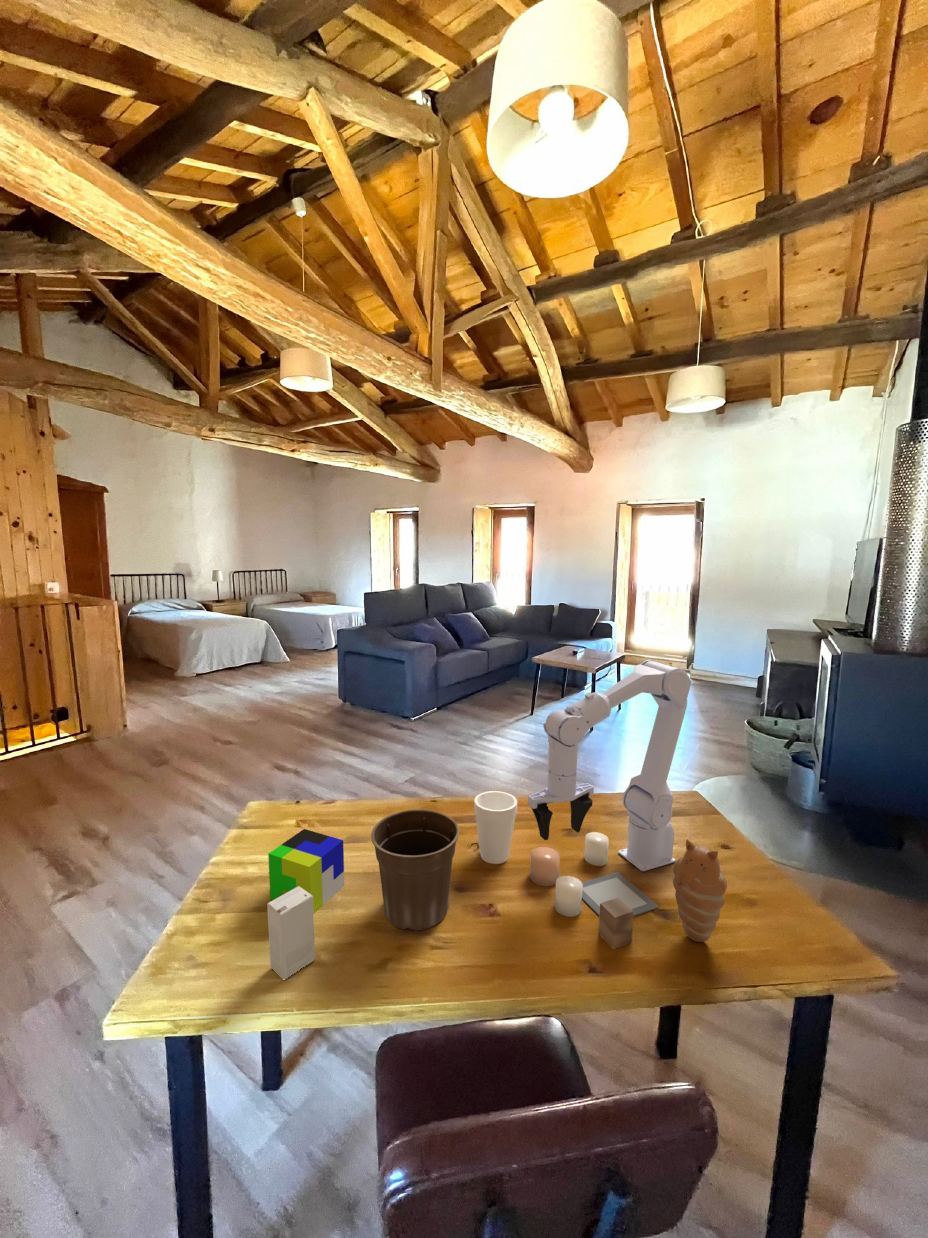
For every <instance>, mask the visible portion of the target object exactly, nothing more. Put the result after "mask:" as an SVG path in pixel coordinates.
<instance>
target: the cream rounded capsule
mask: <svg viewBox="0 0 928 1238" xmlns="http://www.w3.org/2000/svg"><path fill="white" fill-rule="evenodd" d="M582 882H583V881H581V880H580V879H579V878H577V877H575V876H571V875H563V876H559V878H558V879H557V880H556V884H555V893H554V894H555V895H554V896H555V897H554V908H555V911H556V912H557V913H559V914H560V915H562V916H564V917H569V918H572V917H577V916H579V915H580V914H581V912H582V904H583V899H582V889H583V885H582Z"/></svg>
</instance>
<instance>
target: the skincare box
mask: <svg viewBox="0 0 928 1238" xmlns="http://www.w3.org/2000/svg"><path fill="white" fill-rule="evenodd" d="M266 906H267V909H266V910H267V925H268V946H269V962H270V963H269V964H270V969H271V970H272V969H273V970H274V971H275V972H276V973H277V974H278V975H279V976H280V977H281V978H282V979H286V978H287V979H289V978H290V977H292V976H293V975H295V974H296V973H298V972H299V971H300V969H301V968H302V969H304V968H305V967H306V965H307V966H308V965H309V964H311V963H312V962H313V961H315V960H316V950H315V948H316V947H315V944H316V943H315V920H314V919H315V917H314V915H315V914H313V896H312V895H311V894H309V893H308V892H307V891H305V890H304V889H302V888H301V887H299V886H298V887H296V888H295V889H293V890H291V891H289V892H287V893H285V894H284V895H282V896H280V897H278V898H276V899H275V900H273V901H269V902H267V904H266ZM303 967H304V968H303ZM302 969H301V970H302ZM273 970H272V971H273ZM274 971H273V972H274ZM297 971H298V972H297ZM275 972H274V973H275ZM276 973H275V974H276ZM294 973H295V974H294ZM277 974H276V975H277ZM292 974H293V975H292ZM278 975H277V976H278ZM291 975H292V976H291ZM279 976H278V977H279ZM289 976H290V977H289ZM280 977H279V978H280ZM288 977H289V978H288ZM281 978H280V979H281ZM282 979H281V980H282ZM287 979H286V980H287Z"/></svg>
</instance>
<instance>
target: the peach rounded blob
mask: <svg viewBox="0 0 928 1238" xmlns="http://www.w3.org/2000/svg"><path fill="white" fill-rule="evenodd" d="M560 859H561V857H560V853H559V852H558V851H557V850H556V849H554V848H551V847H547V846H539V847H535V848H533V849H532V850H531V851H530V862H529V863H530V864H529V878H530V880H531V881H532V883H534V884H536V885H538V886H542V887H550V886H552V887H553V886H554V885H555V886H556V880H557V879H558V878H559V877H560V863H561V860H560Z"/></svg>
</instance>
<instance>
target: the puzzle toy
mask: <svg viewBox="0 0 928 1238" xmlns="http://www.w3.org/2000/svg"><path fill="white" fill-rule="evenodd" d="M267 855H268V857H267V858H268V875H269V876H268V877H269V897H270V899H269V900H272V901H273V900H275V899H276V898H278V897H280V896H282V895H284V894H285V893H287V892H289V891H291V890H293V889H295V888H296V887H298V886H299V887H301V888H302V889H304V890H305V891H307V892H308V893H309V894H311V895H312V896H313V915H315V913H316V912H318V911H319V910H320V909H321V908H322V907H323V906H324V905H326V903H327V902H329V900H331V899H332V898H333V897H335V895H337V893H339V891H341V890H342V889H343V888H344V887H345V857H344V855H345V854H344V839H340V838H338V837H333V836H331V835H330V836H329V835H327V834H323V833H320V832H316V831H313V830H310V829H307V828H303V829H302V830H301V831H299V832H298V833H296V834H295V835H293V836H292V837H290V838H289V839H287V840H285V842H283V843H281V844H280V845H279V846H277V847H276V848H274V849H272V850H271V851H270V852H268V853H267Z"/></svg>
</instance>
